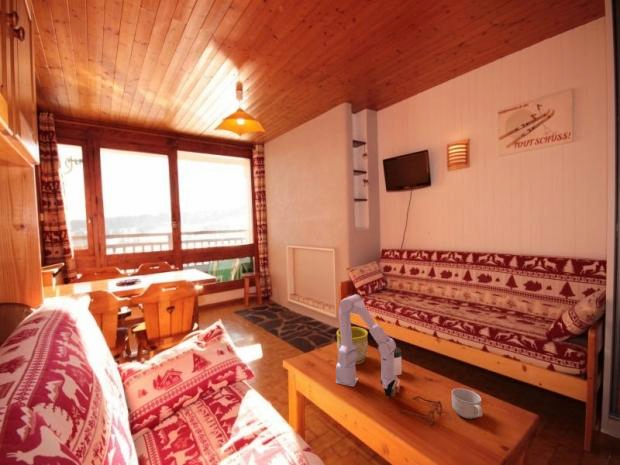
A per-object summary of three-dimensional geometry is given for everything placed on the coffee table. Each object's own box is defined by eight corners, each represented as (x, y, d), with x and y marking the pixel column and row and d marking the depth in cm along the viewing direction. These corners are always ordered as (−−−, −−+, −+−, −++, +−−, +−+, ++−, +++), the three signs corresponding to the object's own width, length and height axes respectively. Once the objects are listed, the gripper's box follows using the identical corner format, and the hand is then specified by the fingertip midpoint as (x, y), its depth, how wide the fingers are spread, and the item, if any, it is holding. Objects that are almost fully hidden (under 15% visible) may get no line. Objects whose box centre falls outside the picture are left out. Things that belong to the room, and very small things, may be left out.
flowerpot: (365, 369, 159) (364, 339, 159) (333, 364, 166) (332, 336, 165) (370, 355, 176) (370, 328, 175) (341, 351, 182) (340, 325, 182)
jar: (402, 376, 151) (402, 353, 150) (386, 375, 152) (385, 353, 152) (400, 368, 159) (400, 346, 159) (385, 367, 161) (384, 345, 161)
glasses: (430, 428, 114) (430, 415, 114) (399, 413, 123) (398, 402, 123) (442, 411, 123) (442, 399, 123) (412, 399, 132) (412, 388, 132)
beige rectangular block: (386, 395, 135) (386, 388, 135) (390, 385, 143) (390, 378, 143) (393, 397, 134) (393, 389, 133) (397, 387, 142) (397, 379, 142)
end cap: (383, 389, 140) (383, 383, 140) (386, 382, 146) (386, 376, 146) (398, 392, 137) (398, 386, 137) (400, 385, 143) (400, 379, 143)
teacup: (447, 405, 127) (447, 387, 126) (472, 405, 126) (472, 387, 126) (463, 428, 113) (462, 408, 112) (492, 428, 112) (491, 407, 112)
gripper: (393, 375, 125) (394, 407, 125) (399, 360, 138) (400, 389, 138) (377, 372, 128) (378, 403, 128) (384, 358, 141) (384, 385, 141)
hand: (388, 395), depth 133 cm, fingers closed
